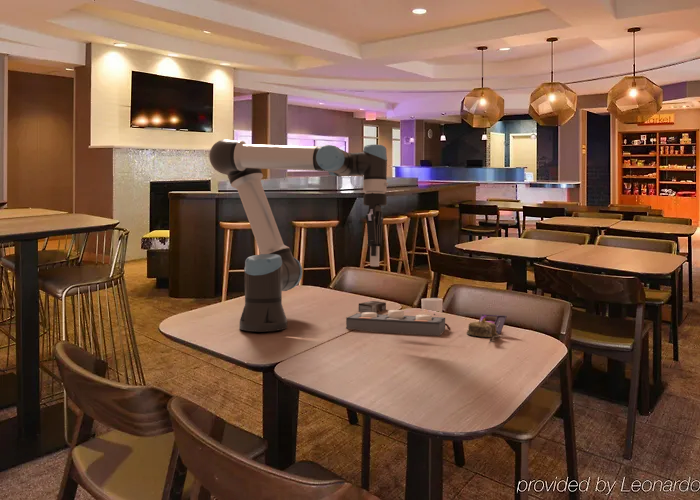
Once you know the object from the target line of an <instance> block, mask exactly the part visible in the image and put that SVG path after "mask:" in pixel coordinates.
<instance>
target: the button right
mask: <svg viewBox="0 0 700 500" xmlns="http://www.w3.org/2000/svg"><path fill="white" fill-rule="evenodd" d="M415 316H416V320H428V321H432V317H433V315H430V314H416V315H415Z"/></svg>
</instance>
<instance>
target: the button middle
mask: <svg viewBox="0 0 700 500" xmlns="http://www.w3.org/2000/svg"><path fill="white" fill-rule="evenodd" d="M387 315H388V318H391V319H402V320H403V319H404V316H405V310H403V309H389V310H387Z"/></svg>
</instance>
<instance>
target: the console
mask: <svg viewBox="0 0 700 500" xmlns="http://www.w3.org/2000/svg"><path fill="white" fill-rule="evenodd" d="M345 319H346V321H345V322H346V324H345V325H346V326H345V327H346V328H345V329H348V330H355V331H356V330H357V331H365V332H373V333H385V334H405V335H421V336H436V337H437V336H439V337H440V336H441V335H442V334H443V333H444V332H445V331H444V330H446V325H445V323H446V317H442V316H440V317H439V316H432V321H428V320H416V315H404V319H403V320H402V319H391V318H388V314H380V313H379V314H378V313H377V318H371V317H362V312H360V313H358V312H357V313H354V314H352V315H350V316H349V315H348V316H347V317H346V318H345Z"/></svg>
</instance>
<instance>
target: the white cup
mask: <svg viewBox="0 0 700 500" xmlns="http://www.w3.org/2000/svg"><path fill="white" fill-rule="evenodd" d="M443 301H444V300H443V298H439V297H426V298H421V310H422V309H427V310H432V311H439V312H442V313H443Z"/></svg>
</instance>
